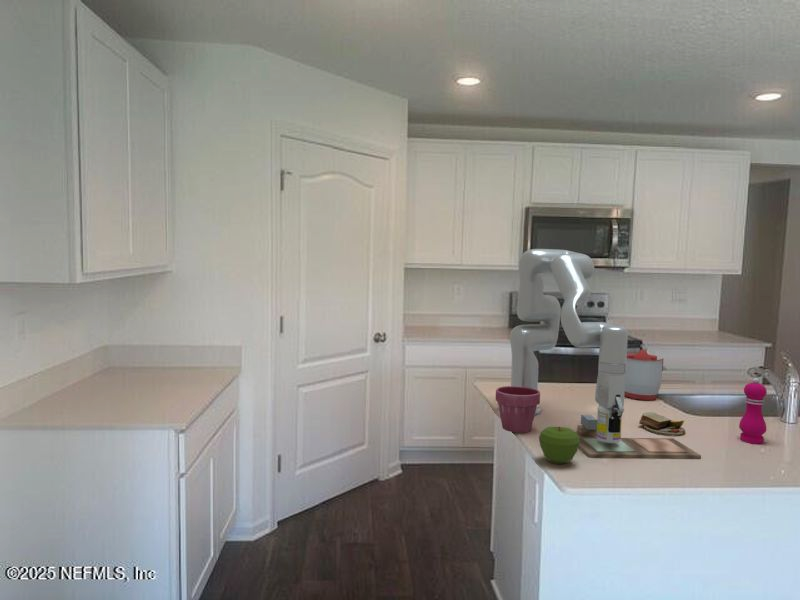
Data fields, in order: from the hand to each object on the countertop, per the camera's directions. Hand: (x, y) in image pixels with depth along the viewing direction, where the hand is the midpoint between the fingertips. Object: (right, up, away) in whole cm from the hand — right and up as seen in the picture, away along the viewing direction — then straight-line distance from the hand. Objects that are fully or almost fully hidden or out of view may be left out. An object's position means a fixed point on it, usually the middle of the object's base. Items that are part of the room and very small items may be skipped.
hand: (608, 427), depth 165 cm
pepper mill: (+49, -7, +11) cm, 51 cm away
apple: (-18, -7, -11) cm, 22 cm away
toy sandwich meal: (+25, -6, +21) cm, 33 cm away
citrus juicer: (+38, -3, +66) cm, 76 cm away
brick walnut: (-2, -6, +14) cm, 15 cm away
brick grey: (-1, -3, +13) cm, 14 cm away
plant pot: (-23, -5, +18) cm, 30 cm away
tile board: (+7, -6, +1) cm, 10 cm away
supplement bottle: (0, -4, 0) cm, 4 cm away
